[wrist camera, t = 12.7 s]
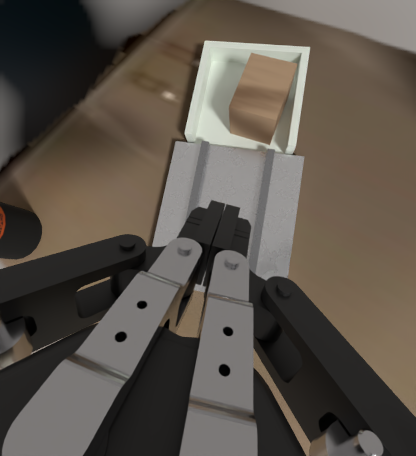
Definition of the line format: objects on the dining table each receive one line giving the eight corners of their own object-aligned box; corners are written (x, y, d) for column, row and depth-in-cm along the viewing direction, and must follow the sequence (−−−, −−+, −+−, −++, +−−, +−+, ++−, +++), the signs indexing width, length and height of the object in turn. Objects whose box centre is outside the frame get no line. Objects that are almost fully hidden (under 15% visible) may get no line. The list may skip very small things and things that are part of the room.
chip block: (275, 120, 31) (297, 63, 32) (228, 106, 32) (251, 52, 33) (269, 145, 36) (288, 96, 37) (230, 133, 37) (249, 86, 39)
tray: (291, 156, 36) (295, 146, 33) (188, 144, 38) (184, 133, 36) (304, 64, 39) (310, 47, 36) (207, 57, 41) (204, 40, 38)
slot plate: (281, 306, 33) (284, 309, 30) (148, 279, 35) (141, 279, 33) (301, 161, 36) (306, 153, 34) (178, 146, 39) (174, 137, 36)
